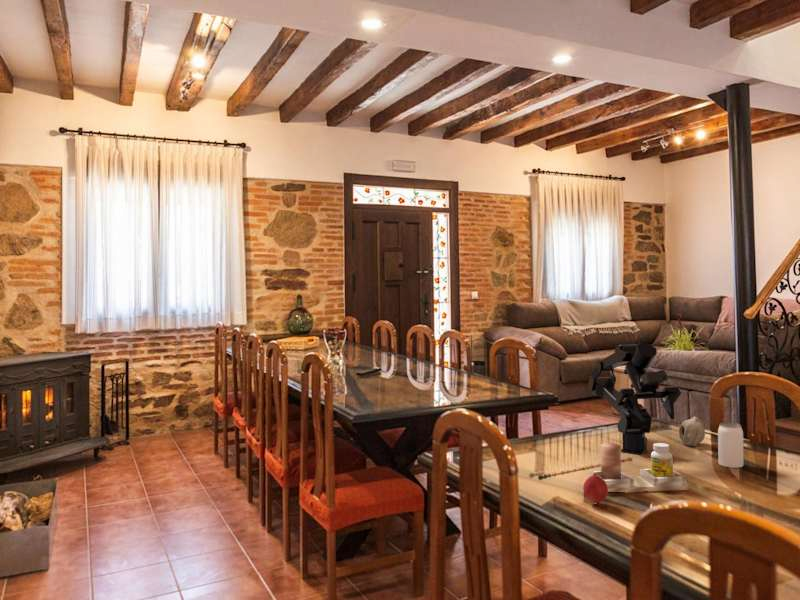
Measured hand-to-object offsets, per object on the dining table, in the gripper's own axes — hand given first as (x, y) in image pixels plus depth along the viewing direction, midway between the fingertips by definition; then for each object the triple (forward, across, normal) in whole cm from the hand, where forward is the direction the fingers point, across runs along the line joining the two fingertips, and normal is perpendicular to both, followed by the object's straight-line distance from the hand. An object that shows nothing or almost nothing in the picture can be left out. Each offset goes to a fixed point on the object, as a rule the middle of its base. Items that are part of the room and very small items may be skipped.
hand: (658, 419), depth 181 cm
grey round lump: (-4, +22, +23) cm, 32 cm away
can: (+13, +20, +7) cm, 24 cm away
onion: (+29, -32, -10) cm, 44 cm away
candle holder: (+21, -15, -2) cm, 26 cm away
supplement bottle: (+21, -8, -3) cm, 23 cm away
